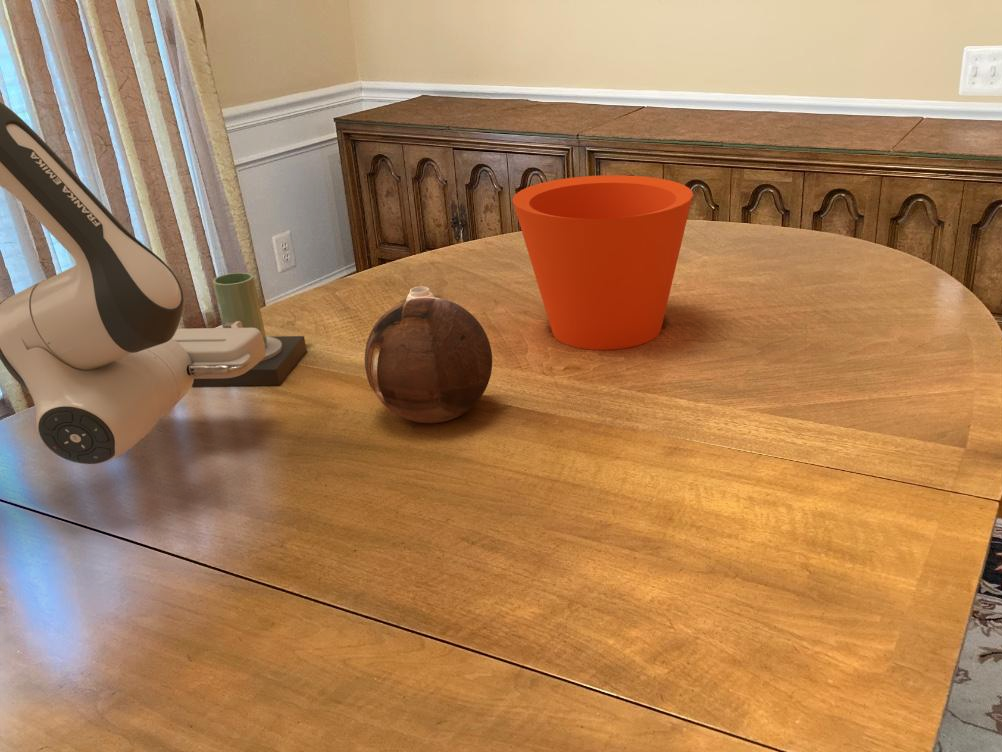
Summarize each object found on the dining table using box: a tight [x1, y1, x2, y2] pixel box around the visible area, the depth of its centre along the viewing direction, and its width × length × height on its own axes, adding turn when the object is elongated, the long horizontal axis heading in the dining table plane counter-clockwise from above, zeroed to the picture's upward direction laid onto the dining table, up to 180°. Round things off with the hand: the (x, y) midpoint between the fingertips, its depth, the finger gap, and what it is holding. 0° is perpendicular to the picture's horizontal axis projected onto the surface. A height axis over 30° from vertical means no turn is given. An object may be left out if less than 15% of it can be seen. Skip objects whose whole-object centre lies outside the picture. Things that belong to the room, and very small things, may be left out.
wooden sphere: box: [364, 296, 493, 424], centre depth 117 cm, size 15×15×15 cm
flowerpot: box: [512, 174, 694, 351], centre depth 140 cm, size 25×25×20 cm
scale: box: [192, 335, 308, 387], centre depth 135 cm, size 12×12×3 cm
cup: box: [212, 271, 268, 349], centre depth 132 cm, size 5×5×10 cm
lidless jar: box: [405, 286, 435, 301], centre depth 155 cm, size 5×3×5 cm
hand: (199, 327), depth 120 cm, fingers open, 8 cm apart
